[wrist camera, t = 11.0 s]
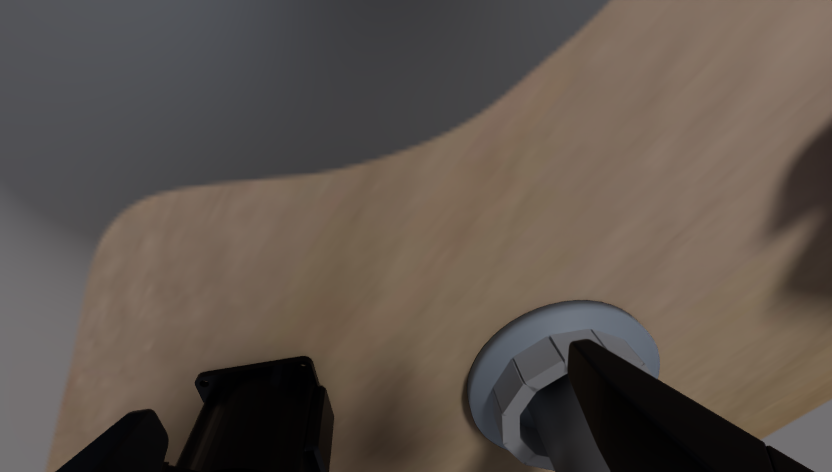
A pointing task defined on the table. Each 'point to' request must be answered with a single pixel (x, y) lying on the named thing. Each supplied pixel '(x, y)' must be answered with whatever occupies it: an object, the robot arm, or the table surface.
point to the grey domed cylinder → (565, 429)
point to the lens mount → (544, 367)
